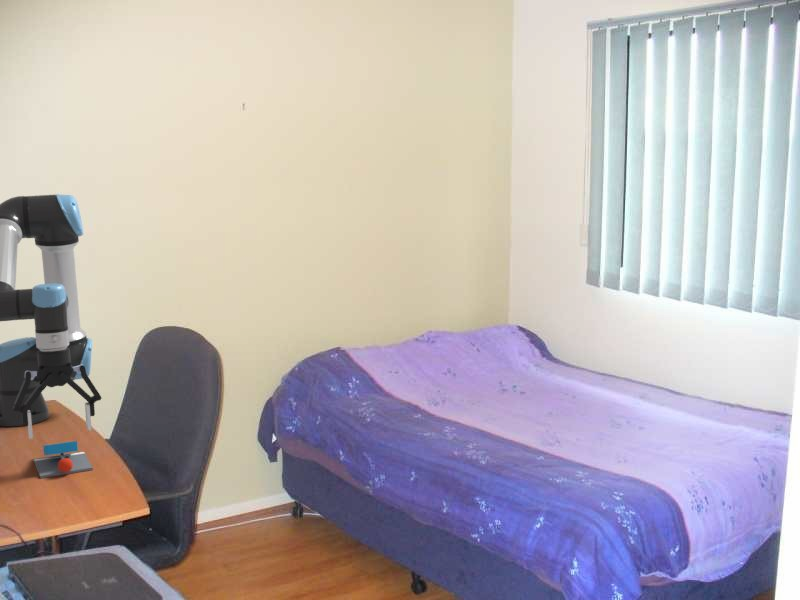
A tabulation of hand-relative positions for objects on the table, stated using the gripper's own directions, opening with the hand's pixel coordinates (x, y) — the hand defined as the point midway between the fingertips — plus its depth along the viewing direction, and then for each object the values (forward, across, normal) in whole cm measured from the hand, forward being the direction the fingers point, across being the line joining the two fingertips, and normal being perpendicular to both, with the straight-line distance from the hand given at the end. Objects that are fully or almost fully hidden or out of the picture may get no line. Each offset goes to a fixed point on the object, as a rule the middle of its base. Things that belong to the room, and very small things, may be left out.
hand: (60, 433), depth 240 cm
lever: (+8, 0, 0) cm, 8 cm away
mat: (+8, 0, 0) cm, 8 cm away
